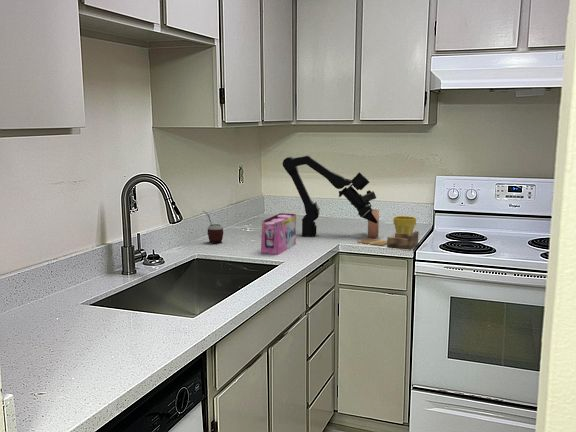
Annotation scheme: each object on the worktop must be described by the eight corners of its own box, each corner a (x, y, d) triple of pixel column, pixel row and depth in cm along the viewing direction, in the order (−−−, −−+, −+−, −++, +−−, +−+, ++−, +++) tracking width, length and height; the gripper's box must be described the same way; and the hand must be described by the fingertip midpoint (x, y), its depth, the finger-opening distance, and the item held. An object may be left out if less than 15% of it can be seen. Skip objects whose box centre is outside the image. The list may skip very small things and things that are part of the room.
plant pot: (394, 235, 272) (395, 215, 270) (416, 236, 269) (417, 216, 267) (391, 239, 262) (392, 218, 260) (414, 240, 259) (415, 219, 257)
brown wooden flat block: (380, 254, 248) (356, 244, 253) (388, 249, 256) (365, 240, 262) (383, 245, 247) (359, 235, 252) (391, 241, 255) (368, 231, 260)
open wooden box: (386, 247, 245) (387, 233, 244) (395, 242, 255) (395, 229, 254) (410, 249, 240) (411, 236, 239) (417, 244, 251) (418, 231, 250)
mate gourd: (225, 241, 253) (225, 208, 251) (219, 245, 246) (218, 211, 243) (210, 240, 255) (210, 208, 253) (203, 244, 248) (202, 210, 245)
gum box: (277, 255, 228) (277, 222, 226) (259, 254, 231) (259, 221, 229) (296, 243, 251) (296, 213, 248) (279, 242, 253) (279, 212, 251)
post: (370, 238, 262) (371, 211, 260) (365, 236, 267) (366, 209, 265) (380, 237, 264) (380, 210, 262) (375, 235, 269) (375, 209, 266)
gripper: (366, 187, 253) (390, 212, 253) (366, 183, 271) (388, 206, 272) (348, 204, 255) (372, 229, 256) (349, 199, 273) (371, 222, 274)
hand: (376, 221), depth 264 cm, fingers open, 9 cm apart
